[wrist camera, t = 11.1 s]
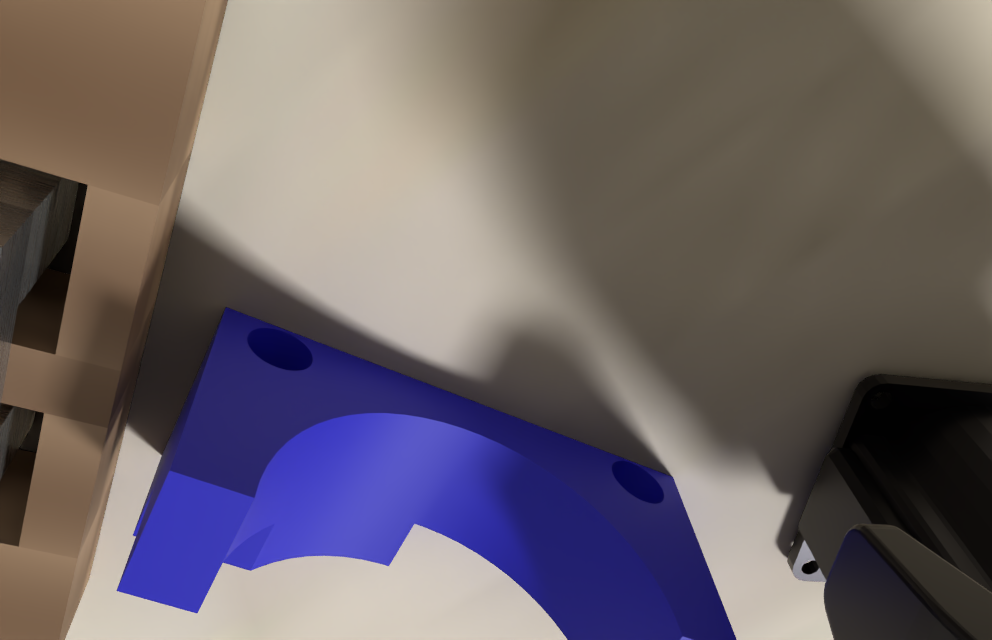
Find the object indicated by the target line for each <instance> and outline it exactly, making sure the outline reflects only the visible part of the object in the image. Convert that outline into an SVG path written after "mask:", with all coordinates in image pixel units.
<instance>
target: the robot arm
mask: <svg viewBox="0 0 992 640" xmlns="http://www.w3.org/2000/svg"><path fill="white" fill-rule="evenodd" d="M879 392H884V393H883V394H882V395H881V396H880V397H879V398H877V399H874V400H871V399H872V398H873V397H874V395H876V394H877V393H879ZM798 528H799V531H798V533H797V536H796V538H795V540H794V543H793V545H792V548H791V550H790V553H789V555H788V561H787V562H788V564H789V566H790V568H791V570H792V572H793V574H794V576H795V577H796V578H797V579H799V580H803V581H814V582H826V583H825V588H824V604H825V610H826V613H827V617H828V620H829V624H830V627H831V631H832V635H833V638H834V640H992V385H990V384H979V383H969V382H958V381H947V380H937V379H926V378H915V377H905V376H894V375H883V374H879V375H872V376H870V377H867V378H865V379H864V380H863V381H862V382H860V383H859V385H858V386H857V388H856V390H855V392H854V395H853V397H852V400H851V402H850V404H849V407H848V409H847V412H846V414H845V417H844V419H843V422H842V424H841V427H840V429H839V432H838V434H837V437H836V439H835V442H834V444H833V446H832V449H831V451H830V452H829V453H828V454H827V455H826V457H825V459H824V462H823V464H822V467H821V469H820V472H819V474H818V477H817V479H816V482H815V484H814V487H813V489H812V492H811V494H810V497H809V499H808V502H807V504H806V507H805V509H804V512H803V514H802V517H801V519H800V522H799V524H798ZM808 561H810V562H809V563H806V562H808ZM804 563H806V564H804Z"/></svg>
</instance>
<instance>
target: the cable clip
mask: <svg viewBox="0 0 992 640" xmlns="http://www.w3.org/2000/svg"><path fill="white" fill-rule="evenodd" d="M414 523H415V524H418V525H420V526H423V527H426V528H428V529H431V530H433V531H435V532H438V533H440V534H442V535H445V536H447V537H449V538H451V539H453V540H455V541H457V542H459V543H460V544H462V545H464V546H466V547H467V548H469V549H471V550H473V551H474V552H476V553H478V554H479V555H481V556H482V557H484V558H485V559H487V560H488V561H489V562H491V563H492V564H494V565H495V566H496V567H498V568H499V569H500V570H502V571H503V572H504V573H506V574H507V575H508V576H509V577H511V578H512V579H513V580H514V581H515V582H516V583H517V584H519V585H520V586H521V587H522V588H523V589H524V590H525V591H526V592H527V593H528V594H529V595H530V596H531V597H532V598H533V599H534V600H535V601H536V602H537V603H538V604H539V605H540V606H541V607H542V608H543V609H544V610H545V611H546V613H547V614H548V615H549V616H550V617H551V618H552V619H553V621H554V622H555V623H556V625H557V626H558V627H559V629H560V630H561V631H562V633H563V634H564V635H565V636H566V638H567V640H736V637H735V635H734V632H733V629H732V627H731V624H730V622H729V619H728V617H727V614H726V612H725V609H724V607H723V604H722V601H721V599H720V596H719V594H718V591H717V589H716V586H715V584H714V581H713V578H712V576H711V573H710V571H709V568H708V566H707V563H706V561H705V558H704V556H703V553H702V550H701V548H700V545H699V543H698V540H697V538H696V535H695V533H694V530H693V527H692V525H691V522H690V520H689V517H688V515H687V512H686V510H685V507H684V505H683V502H682V499H681V497H680V494H679V492H678V489H677V487H676V484H675V482H674V479H673V477H671V476H669V475H666V474H663V473H661V472H658V471H656V470H653V469H650V468H648V467H645V466H642V465H640V464H637V463H635V462H632V461H629V460H627V459H624V458H621V457H619V456H616V455H613V454H611V453H608V452H606V451H603V450H600V449H598V448H595V447H592V446H590V445H587V444H585V443H582V442H579V441H577V440H574V439H571V438H569V437H566V436H564V435H561V434H558V433H556V432H553V431H550V430H548V429H545V428H543V427H540V426H537V425H535V424H532V423H529V422H527V421H524V420H522V419H519V418H516V417H514V416H511V415H508V414H506V413H503V412H500V411H498V410H495V409H493V408H490V407H487V406H485V405H482V404H479V403H477V402H474V401H472V400H469V399H466V398H464V397H461V396H458V395H456V394H453V393H451V392H448V391H445V390H443V389H440V388H437V387H435V386H432V385H430V384H427V383H424V382H422V381H419V380H416V379H414V378H411V377H408V376H406V375H403V374H401V373H398V372H395V371H393V370H390V369H387V368H385V367H382V366H380V365H377V364H374V363H372V362H369V361H366V360H364V359H361V358H359V357H356V356H353V355H351V354H348V353H345V352H343V351H340V350H338V349H335V348H332V347H330V346H327V345H324V344H322V343H319V342H316V341H314V340H311V339H309V338H306V337H303V336H301V335H298V334H295V333H293V332H290V331H288V330H285V329H282V328H280V327H277V326H274V325H272V324H269V323H267V322H264V321H261V320H259V319H256V318H253V317H251V316H248V315H246V314H243V313H240V312H238V311H235V310H232V309H230V308H227V307H226V308H225V311H224V313H223V315H222V318H221V320H220V322H219V325H218V327H217V329H216V331H215V334H214V336H213V338H212V341H211V343H210V345H209V348H208V350H207V352H206V355H205V357H204V359H203V362H202V364H201V366H200V369H199V371H198V373H197V376H196V378H195V380H194V382H193V385H192V387H191V389H190V392H189V394H188V396H187V399H186V401H185V403H184V406H183V408H182V410H181V413H180V415H179V417H178V420H177V422H176V424H175V427H174V429H173V431H172V434H171V436H170V438H169V440H168V443H167V445H166V447H165V450H164V452H163V454H162V457H161V460H160V462H159V465H158V468H157V471H156V473H155V476H154V479H153V482H152V484H151V487H150V490H149V493H148V495H147V498H146V501H145V504H144V506H143V509H142V512H141V514H140V517H139V520H138V523H137V525H136V528H135V531H134V534H133V536H136V539H135V541H134V544H133V547H132V550H131V552H130V555H129V558H128V561H127V564H126V566H125V569H124V572H123V575H122V577H121V580H120V583H119V586H118V589H117V591H119V592H123V593H126V594H130V595H133V596H137V597H141V598H144V599H148V600H151V601H155V602H158V603H162V604H166V605H169V606H173V607H176V608H180V609H183V610H187V611H190V612H194V613H198V611H199V609H200V607H201V605H202V603H203V601H204V599H205V597H206V595H207V593H208V591H209V589H210V587H211V585H212V583H213V581H214V579H215V577H216V575H217V573H218V571H219V569H220V567H221V565H222V563H227V564H230V565H233V566H237V567H240V568H243V569H247V570H250V571H251V570H253V569H256V568H258V567H261V566H264V565H267V564H269V563H273V562H277V561H281V560H285V559H289V558H297V557H304V556H342V557H350V558H356V559H363V560H367V561H371V562H376V563H380V564H383V565H387V566H389V565H390V563H391V561H392V560H393V558H394V556H395V555H396V553H397V552H398V550H399V548H400V547H401V545H402V543H403V542H404V540H405V538H406V537H407V535H408V533H409V532H410V530H411V528H412V527H413V525H414Z"/></svg>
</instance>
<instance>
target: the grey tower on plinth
mask: <svg viewBox="0 0 992 640" xmlns="http://www.w3.org/2000/svg"><path fill="white" fill-rule="evenodd" d="M78 185H79V182H77V181H73V180H70V179H67V178H63V177H60V176H56V175H53V174H50V173H46V172H43V171H40V170H36V169H33V168H30V167H26V166H23V165H19V164H16V163H13V162H9V161H6V160H3V159H0V480H1V478H2V477H3V475H4V473H5V471H6V470H7V468H8V466H9V465H10V463H11V461H12V459H13V458H14V456H15V454H16V453H17V451H18V449H19V447H20V446H21V444H22V442H23V441H24V439H25V437H26V435H27V434H28V432H29V430H30V429H31V427H32V425H33V422H34V416H35V411H34V410H29V409H25V408H21V407H17V406H13V405H8V404H4V403H1V402H2V396H3V390H4V384H5V378H6V372H7V366H8V360H9V355H10V349H11V343H12V337H13V331H14V325H15V319H16V313H17V307H18V306H19V304H20V303H21V302H22V300H23V299H24V298H25V296H26V295H27V294H28V292H29V291H30V290H31V288H32V287H33V286H34V284H35V283H36V282H37V280H38V279H39V278H40V276H41V275H42V274H43V272H44V271H45V270H46V268H47V267H48V266H49V264H50V263H51V261H52V260H53V259H54V257H55V256H56V255H57V253H58V252H59V251H60V249H61V248H62V247H63V245H64V244H65V243H66V241H67V240H68V238H69V232H70V227H71V222H72V217H73V211H74V206H75V201H76V196H77V190H78Z"/></svg>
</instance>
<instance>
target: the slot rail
mask: <svg viewBox="0 0 992 640" xmlns="http://www.w3.org/2000/svg"><path fill="white" fill-rule="evenodd" d="M227 2H228V0H0V159H3V160H6V161H9V162H13V163H16V164H19V165H23V166H26V167H30V168H33V169H36V170H40V171H43V172H46V173H50V174H53V175H56V176H60V177H63V178H67V179H70V180H73V181H77V182H80V183H83V184H87V185H88V187H87V192H86V197H85V202H84V208H83V213H82V218H81V223H80V228H79V234H78V239H77V244H76V249H75V255H74V260H73V265H72V270H71V274H67V273H63V272H60V271H56V270H52V269H49V268H46V270H45V271H44V272H43V274H42V275H41V276H40V278H39V279H38V280H37V282H36V283H35V284H34V286H33V287H32V288H31V290H30V291H29V292H28V294H27V295H26V296H25V298H24V299H23V300H22V302H21V303H20V304H19V306H18V307H17V313H16V319H15V325H14V331H13V337H12V343H11V349H10V355H9V360H8V366H7V372H6V378H5V384H4V390H3V396H2V402H1V403H4V404H8V405H13V406H17V407H21V408H25V409H29V410H34V411H38V412H42V413H44V417H43V422H42V427H41V433H40V438H39V443H38V448H37V453H34V452H29V451H25V450H20V449H18V451H17V453H16V454H15V456H14V458H13V459H12V461H11V463H10V465H9V466H8V468H7V470H6V471H5V473H4V475H3V477H2V478H1V480H0V640H65V638H66V635H67V633H68V630H69V628H70V625H71V623H72V620H73V618H74V615H75V613H76V610H77V608H78V605H79V603H80V600H81V597H82V595H83V592H84V590H85V587H86V585H87V582H88V580H89V576H90V572H91V568H92V564H93V560H94V555H95V551H96V547H97V543H98V539H99V535H100V530H101V526H102V522H103V518H104V514H105V510H106V505H107V501H108V497H109V493H110V489H111V485H112V480H113V476H114V472H115V468H116V464H117V460H118V455H119V451H120V447H121V443H122V439H123V435H124V431H125V426H126V422H127V418H128V414H129V410H130V406H131V401H132V397H133V393H134V389H135V385H136V381H137V376H138V372H139V368H140V364H141V360H142V356H143V351H144V347H145V343H146V339H147V335H148V331H149V326H150V322H151V318H152V314H153V310H154V306H155V302H156V297H157V293H158V289H159V285H160V281H161V277H162V272H163V268H164V264H165V260H166V256H167V252H168V247H169V243H170V239H171V235H172V231H173V227H174V222H175V218H176V214H177V210H178V206H179V202H180V197H181V193H182V189H183V185H184V181H185V177H186V172H187V168H188V164H189V160H190V156H191V152H192V148H193V143H194V139H195V135H196V131H197V127H198V123H199V118H200V114H201V110H202V106H203V102H204V98H205V93H206V89H207V85H208V81H209V77H210V73H211V68H212V64H213V60H214V56H215V52H216V48H217V43H218V39H219V35H220V31H221V27H222V23H223V19H224V14H225V10H226V6H227Z"/></svg>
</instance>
